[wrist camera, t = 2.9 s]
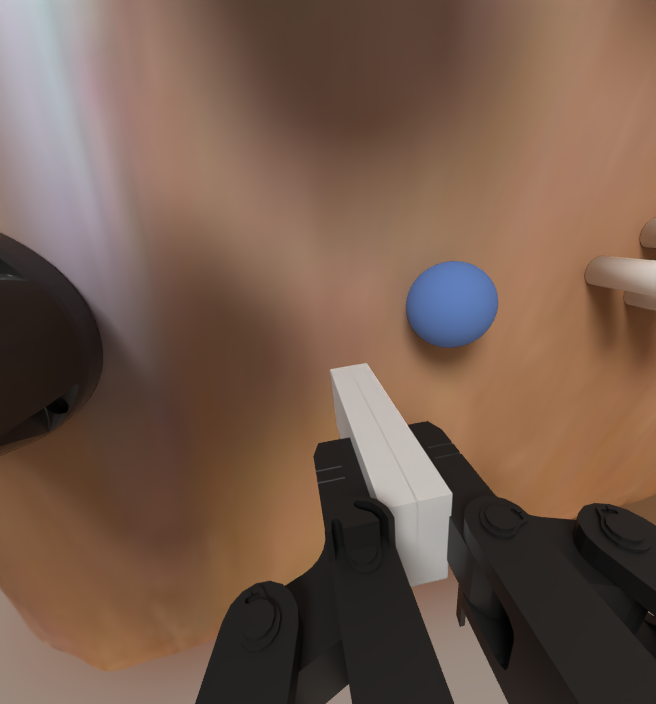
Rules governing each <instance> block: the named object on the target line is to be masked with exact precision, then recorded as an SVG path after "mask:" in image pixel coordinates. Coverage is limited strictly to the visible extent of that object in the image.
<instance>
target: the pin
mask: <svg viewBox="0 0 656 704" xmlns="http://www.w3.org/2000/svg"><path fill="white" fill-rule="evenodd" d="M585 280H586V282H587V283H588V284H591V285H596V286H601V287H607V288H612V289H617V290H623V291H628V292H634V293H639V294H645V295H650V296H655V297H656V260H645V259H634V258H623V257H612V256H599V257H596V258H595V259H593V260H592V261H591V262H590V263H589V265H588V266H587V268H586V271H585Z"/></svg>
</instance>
